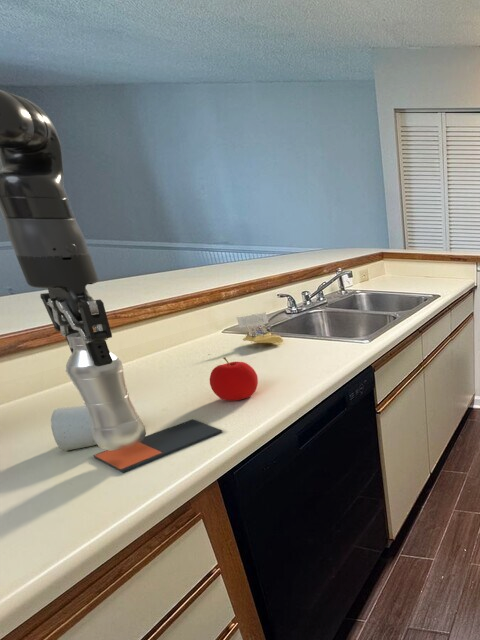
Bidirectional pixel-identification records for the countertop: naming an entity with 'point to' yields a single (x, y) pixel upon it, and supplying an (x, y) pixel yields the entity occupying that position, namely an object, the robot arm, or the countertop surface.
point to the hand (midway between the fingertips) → (93, 361)
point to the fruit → (233, 381)
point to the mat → (158, 445)
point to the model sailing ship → (259, 336)
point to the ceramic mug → (72, 428)
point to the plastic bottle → (105, 398)
